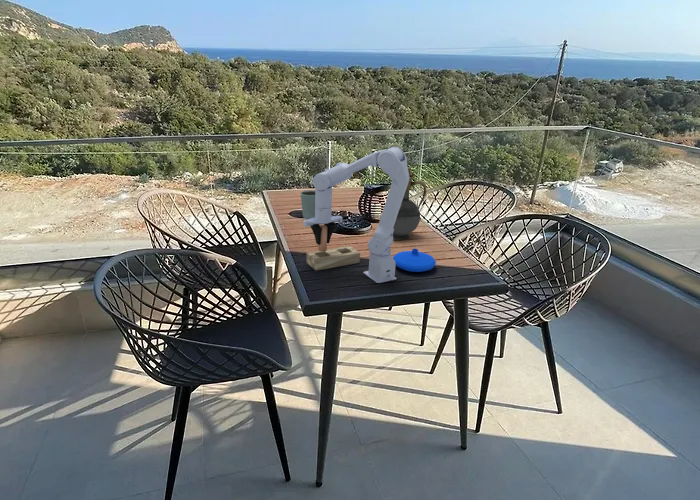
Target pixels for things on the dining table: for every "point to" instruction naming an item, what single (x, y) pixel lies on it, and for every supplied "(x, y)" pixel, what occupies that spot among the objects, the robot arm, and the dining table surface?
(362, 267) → the dining table surface
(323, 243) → the peg
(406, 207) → the pitcher
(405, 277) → the dining table surface
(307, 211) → the green cup
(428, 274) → the dining table surface
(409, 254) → the blue round knobbed lid
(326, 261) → the hole block
